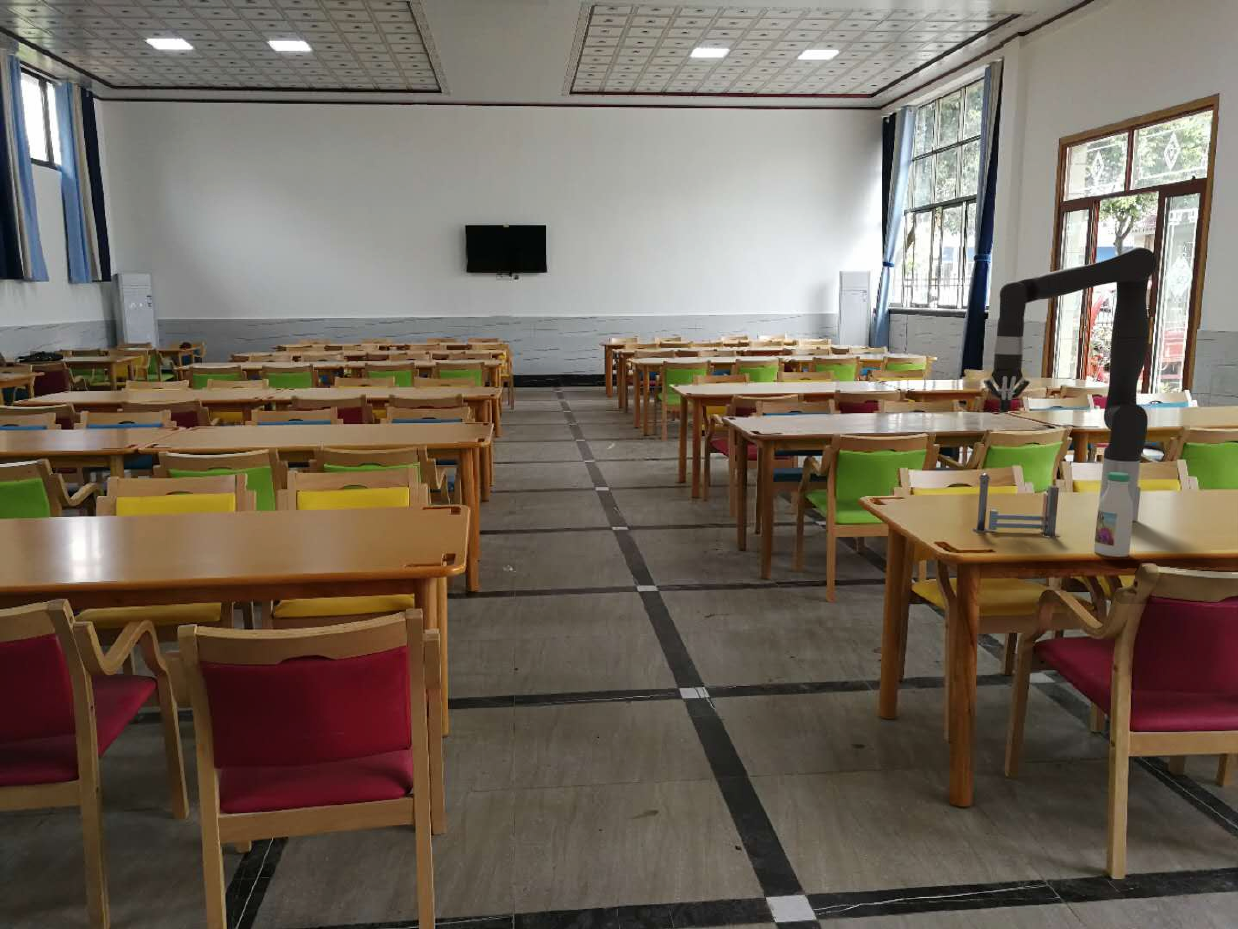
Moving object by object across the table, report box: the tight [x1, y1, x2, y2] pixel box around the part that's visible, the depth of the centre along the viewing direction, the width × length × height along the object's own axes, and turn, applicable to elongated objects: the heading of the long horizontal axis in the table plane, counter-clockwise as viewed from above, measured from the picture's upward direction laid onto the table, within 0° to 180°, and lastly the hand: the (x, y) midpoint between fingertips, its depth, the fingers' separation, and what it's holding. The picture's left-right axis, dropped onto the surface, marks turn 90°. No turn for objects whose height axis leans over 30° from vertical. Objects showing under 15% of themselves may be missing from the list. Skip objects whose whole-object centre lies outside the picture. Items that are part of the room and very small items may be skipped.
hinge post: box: [972, 473, 991, 534], centre depth 254 cm, size 4×4×16 cm
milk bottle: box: [1093, 472, 1134, 558], centre depth 231 cm, size 8×8×20 cm
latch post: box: [1038, 485, 1061, 538], centre depth 250 cm, size 4×4×13 cm
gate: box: [988, 492, 1048, 532], centre depth 253 cm, size 16×2×10 cm, turn 83°
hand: (1004, 412), depth 275 cm, fingers closed
